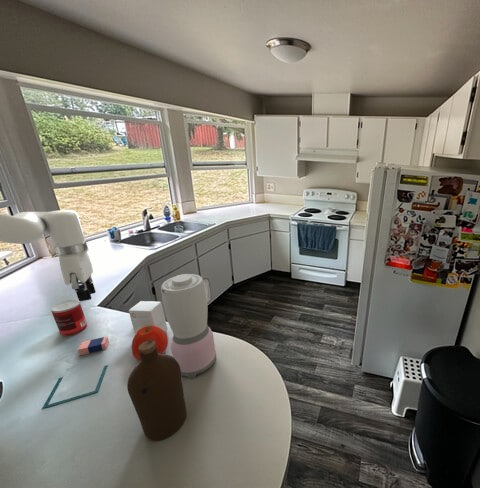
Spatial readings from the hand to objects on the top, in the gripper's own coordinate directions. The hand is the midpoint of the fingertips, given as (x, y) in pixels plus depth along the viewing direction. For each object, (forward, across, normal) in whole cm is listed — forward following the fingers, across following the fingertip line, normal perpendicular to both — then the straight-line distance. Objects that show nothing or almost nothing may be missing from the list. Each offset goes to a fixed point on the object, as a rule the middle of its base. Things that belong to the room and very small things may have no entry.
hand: (87, 296), depth 88 cm
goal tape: (+17, +23, 0) cm, 29 cm away
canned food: (+17, -9, -10) cm, 22 cm away
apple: (+17, +18, +18) cm, 31 cm away
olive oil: (+17, +47, +24) cm, 56 cm away
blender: (+17, +28, +33) cm, 47 cm away
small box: (+17, +7, +17) cm, 25 cm away
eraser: (+17, +7, 0) cm, 19 cm away
